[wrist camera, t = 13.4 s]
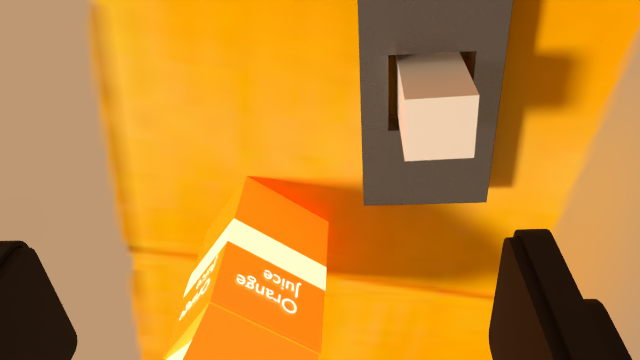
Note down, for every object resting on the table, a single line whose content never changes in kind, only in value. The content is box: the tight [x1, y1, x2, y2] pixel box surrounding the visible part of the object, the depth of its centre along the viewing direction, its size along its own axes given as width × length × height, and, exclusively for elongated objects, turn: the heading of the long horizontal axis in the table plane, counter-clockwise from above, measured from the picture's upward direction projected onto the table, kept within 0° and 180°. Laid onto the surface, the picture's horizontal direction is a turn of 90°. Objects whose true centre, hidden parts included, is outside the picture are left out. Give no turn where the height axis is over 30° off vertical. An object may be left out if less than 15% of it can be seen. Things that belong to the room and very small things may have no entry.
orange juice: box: [162, 176, 329, 360], centre depth 41 cm, size 8×9×20 cm
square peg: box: [396, 52, 479, 161], centre depth 37 cm, size 4×4×8 cm
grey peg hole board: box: [358, 0, 513, 206], centre depth 39 cm, size 20×10×2 cm, turn 4°
